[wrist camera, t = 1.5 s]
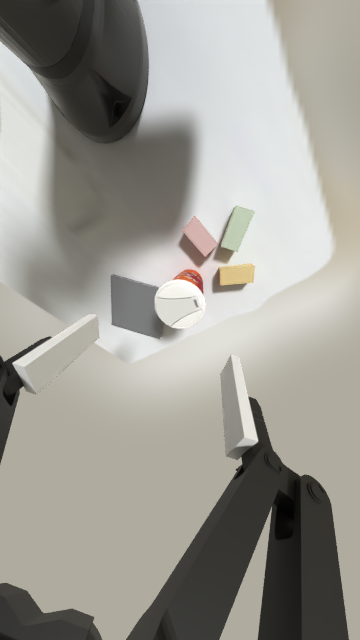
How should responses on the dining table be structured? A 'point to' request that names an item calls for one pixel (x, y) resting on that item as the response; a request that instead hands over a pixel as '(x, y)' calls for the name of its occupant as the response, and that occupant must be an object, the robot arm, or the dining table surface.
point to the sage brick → (236, 228)
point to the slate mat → (135, 306)
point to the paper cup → (181, 300)
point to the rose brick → (200, 236)
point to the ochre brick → (236, 274)
